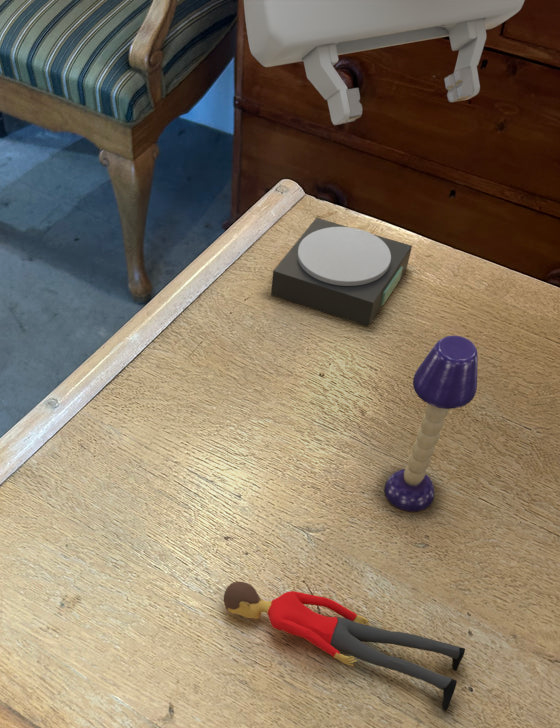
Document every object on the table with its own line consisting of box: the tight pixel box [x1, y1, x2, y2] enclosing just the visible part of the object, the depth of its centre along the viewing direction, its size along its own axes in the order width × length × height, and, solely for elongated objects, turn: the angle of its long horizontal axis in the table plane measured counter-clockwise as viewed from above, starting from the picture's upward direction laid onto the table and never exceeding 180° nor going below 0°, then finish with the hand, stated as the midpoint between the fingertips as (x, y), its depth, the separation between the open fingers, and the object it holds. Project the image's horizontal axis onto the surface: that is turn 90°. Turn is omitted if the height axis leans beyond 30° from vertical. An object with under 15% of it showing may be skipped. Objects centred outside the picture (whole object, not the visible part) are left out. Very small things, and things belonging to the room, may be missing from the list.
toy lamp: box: [383, 334, 479, 513], centre depth 70 cm, size 5×5×17 cm
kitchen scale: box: [270, 217, 413, 327], centre depth 94 cm, size 11×11×4 cm
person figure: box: [223, 581, 466, 711], centre depth 67 cm, size 5×4×18 cm
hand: (407, 109), depth 62 cm, fingers open, 8 cm apart
